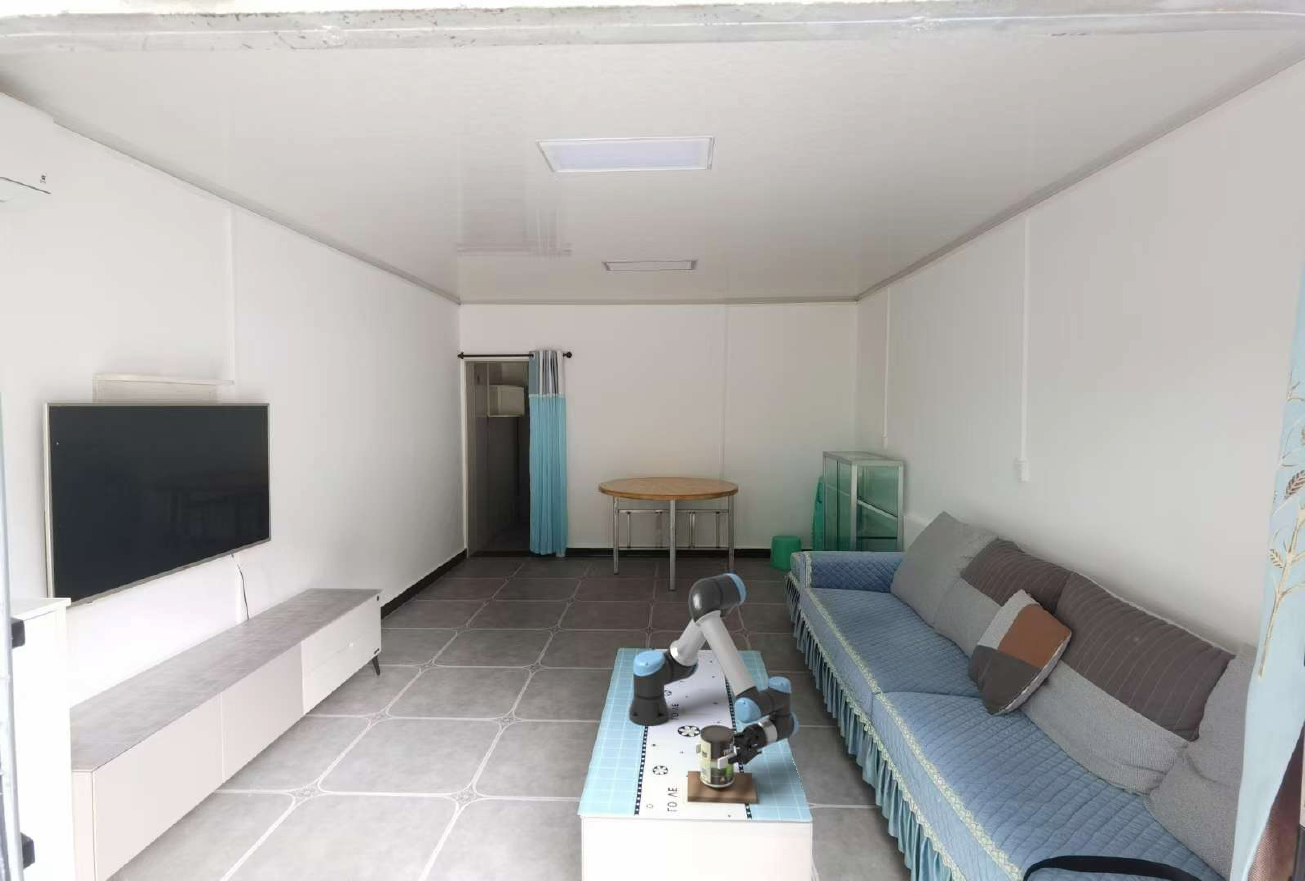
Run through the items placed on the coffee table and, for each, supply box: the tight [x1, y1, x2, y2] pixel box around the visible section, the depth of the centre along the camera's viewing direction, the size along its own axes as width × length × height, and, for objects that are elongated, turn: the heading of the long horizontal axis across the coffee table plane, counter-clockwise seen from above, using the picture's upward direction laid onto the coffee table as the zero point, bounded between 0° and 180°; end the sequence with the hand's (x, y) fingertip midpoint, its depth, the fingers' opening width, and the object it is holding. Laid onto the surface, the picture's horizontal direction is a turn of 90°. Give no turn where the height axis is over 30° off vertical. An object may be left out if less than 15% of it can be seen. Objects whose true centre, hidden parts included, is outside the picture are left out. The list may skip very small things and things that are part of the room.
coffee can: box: [699, 724, 735, 787], centre depth 197 cm, size 10×10×14 cm
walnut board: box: [686, 770, 757, 805], centre depth 196 cm, size 20×14×2 cm
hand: (706, 756), depth 194 cm, fingers closed on coffee can, 10 cm apart
